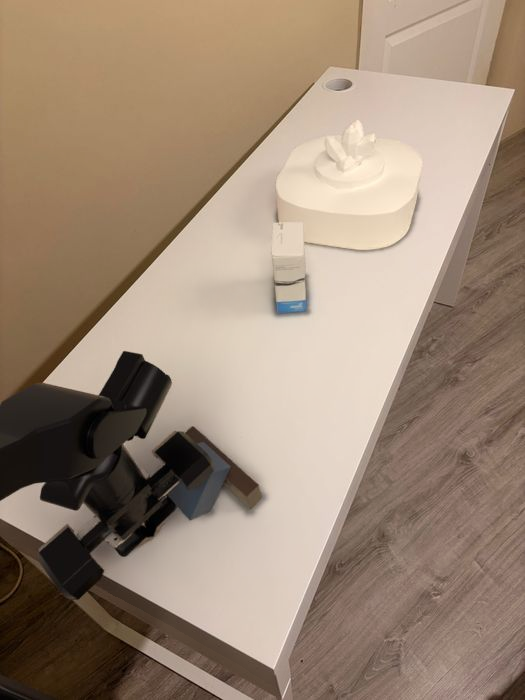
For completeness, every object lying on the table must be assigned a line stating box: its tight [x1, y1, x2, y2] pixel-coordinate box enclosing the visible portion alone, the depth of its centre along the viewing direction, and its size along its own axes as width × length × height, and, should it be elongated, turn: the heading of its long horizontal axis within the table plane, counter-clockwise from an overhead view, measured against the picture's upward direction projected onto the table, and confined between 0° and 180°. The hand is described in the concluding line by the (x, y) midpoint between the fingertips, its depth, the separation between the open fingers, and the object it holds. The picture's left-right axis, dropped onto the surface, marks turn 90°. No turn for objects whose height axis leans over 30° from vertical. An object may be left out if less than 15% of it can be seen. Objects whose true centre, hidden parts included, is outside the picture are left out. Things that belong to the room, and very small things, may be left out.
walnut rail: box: [184, 425, 262, 511], centre depth 62 cm, size 2×12×4 cm, turn 46°
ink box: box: [270, 221, 307, 314], centre depth 78 cm, size 8×5×12 cm, turn 179°
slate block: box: [167, 442, 231, 521], centre depth 59 cm, size 7×5×8 cm
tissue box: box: [275, 118, 424, 251], centre depth 90 cm, size 25×25×16 cm
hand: (151, 534), depth 58 cm, fingers closed
